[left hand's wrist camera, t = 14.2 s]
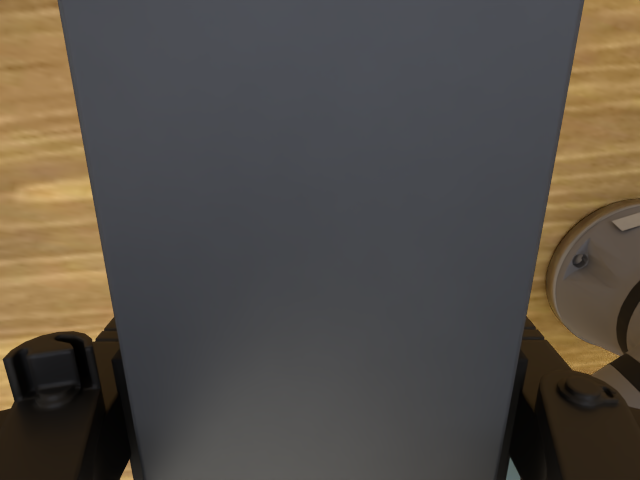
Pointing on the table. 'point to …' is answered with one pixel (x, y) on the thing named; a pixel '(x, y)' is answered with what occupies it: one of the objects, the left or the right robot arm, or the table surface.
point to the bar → (320, 224)
